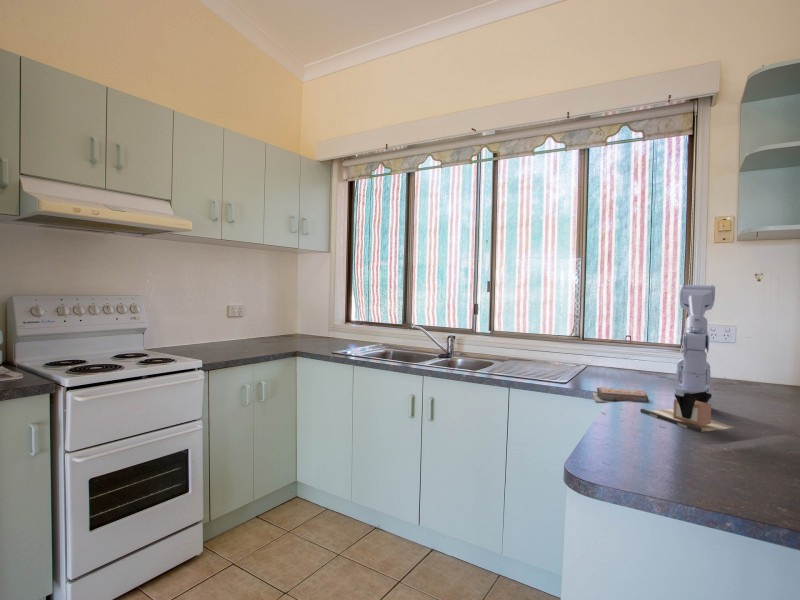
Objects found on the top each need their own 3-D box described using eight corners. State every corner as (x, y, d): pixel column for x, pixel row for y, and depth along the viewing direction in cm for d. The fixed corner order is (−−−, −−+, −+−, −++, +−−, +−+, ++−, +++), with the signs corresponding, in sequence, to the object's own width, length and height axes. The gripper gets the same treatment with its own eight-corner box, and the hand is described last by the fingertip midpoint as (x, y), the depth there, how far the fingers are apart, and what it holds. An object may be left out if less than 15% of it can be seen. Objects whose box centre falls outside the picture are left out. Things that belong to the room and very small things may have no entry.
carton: (683, 416, 138) (683, 397, 138) (710, 423, 131) (711, 404, 130) (672, 418, 135) (673, 399, 135) (700, 426, 128) (701, 405, 128)
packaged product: (644, 389, 165) (650, 395, 155) (643, 401, 165) (650, 409, 156) (592, 384, 170) (595, 390, 161) (592, 396, 171) (595, 403, 161)
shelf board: (673, 412, 149) (674, 405, 149) (734, 432, 131) (735, 424, 130) (639, 416, 145) (639, 408, 144) (697, 437, 126) (698, 428, 126)
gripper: (694, 368, 139) (692, 410, 140) (666, 371, 133) (664, 415, 133) (718, 372, 133) (716, 416, 133) (690, 376, 126) (688, 422, 127)
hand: (692, 416), depth 133 cm, fingers closed on carton, 5 cm apart
